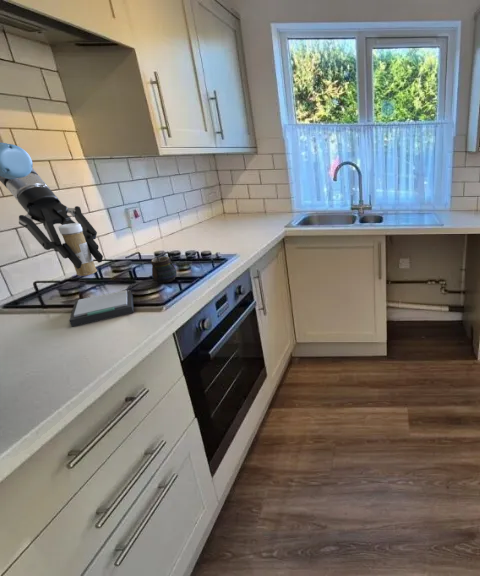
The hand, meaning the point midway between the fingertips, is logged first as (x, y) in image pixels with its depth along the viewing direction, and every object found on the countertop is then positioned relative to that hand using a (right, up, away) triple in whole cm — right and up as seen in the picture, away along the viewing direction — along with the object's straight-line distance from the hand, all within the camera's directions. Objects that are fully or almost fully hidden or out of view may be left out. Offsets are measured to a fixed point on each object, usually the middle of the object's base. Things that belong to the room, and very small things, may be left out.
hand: (90, 262), depth 95 cm
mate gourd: (+2, -5, +30) cm, 30 cm away
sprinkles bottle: (-3, -3, +3) cm, 5 cm away
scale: (-4, -13, +10) cm, 17 cm away
